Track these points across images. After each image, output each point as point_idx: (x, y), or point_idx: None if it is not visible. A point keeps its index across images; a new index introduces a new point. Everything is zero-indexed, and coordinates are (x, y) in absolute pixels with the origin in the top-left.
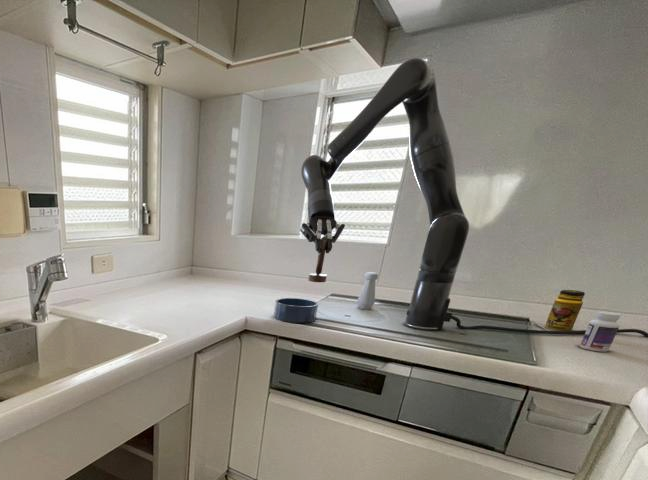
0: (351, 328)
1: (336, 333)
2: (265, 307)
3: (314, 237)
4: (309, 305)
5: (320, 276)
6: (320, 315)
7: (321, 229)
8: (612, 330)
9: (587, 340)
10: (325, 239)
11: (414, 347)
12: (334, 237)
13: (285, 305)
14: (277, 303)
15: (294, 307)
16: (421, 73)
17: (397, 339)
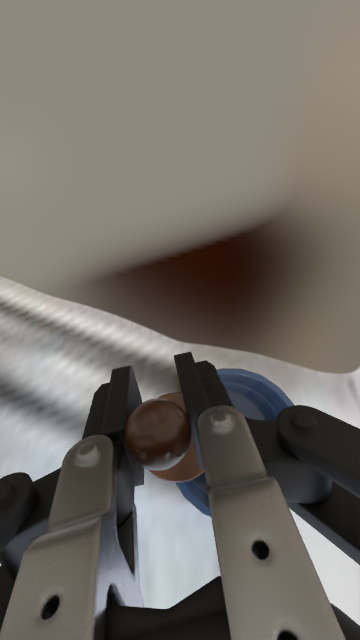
0: (85, 382)
1: (129, 323)
2: (351, 600)
3: (271, 433)
4: (189, 488)
5: (167, 394)
6: (148, 524)
7: (214, 520)
8: None
9: None
10: (148, 402)
11: (4, 282)
12: (32, 485)
13: (262, 376)
14: (292, 404)
15: (234, 369)
16: None
17: (12, 324)
